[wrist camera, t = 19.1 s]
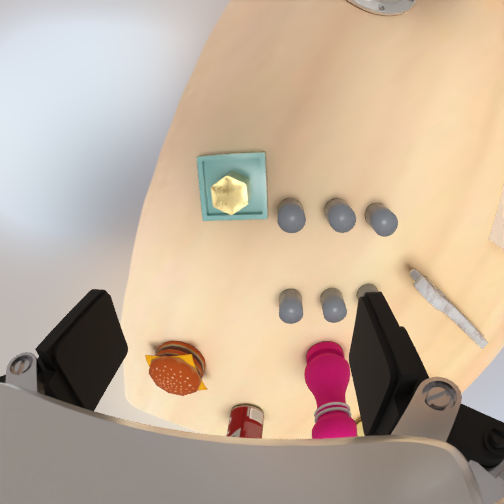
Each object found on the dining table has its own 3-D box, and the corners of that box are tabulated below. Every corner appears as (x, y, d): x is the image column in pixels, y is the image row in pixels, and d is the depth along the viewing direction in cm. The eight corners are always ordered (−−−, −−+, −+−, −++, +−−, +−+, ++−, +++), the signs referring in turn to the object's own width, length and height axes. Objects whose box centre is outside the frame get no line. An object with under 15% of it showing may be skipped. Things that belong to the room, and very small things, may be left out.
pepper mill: (294, 358, 47) (295, 462, 29) (323, 331, 44) (339, 440, 26) (325, 374, 48) (335, 472, 30) (354, 350, 45) (377, 451, 27)
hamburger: (195, 336, 47) (185, 363, 41) (213, 375, 51) (206, 402, 45) (148, 340, 49) (134, 365, 43) (168, 377, 52) (158, 402, 46)
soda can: (252, 399, 52) (246, 450, 41) (270, 416, 54) (266, 463, 43) (225, 407, 54) (215, 454, 43) (243, 423, 56) (236, 468, 45)
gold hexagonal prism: (216, 172, 36) (209, 177, 32) (248, 169, 35) (245, 173, 31) (220, 207, 37) (214, 216, 34) (252, 205, 37) (248, 214, 33)
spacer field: (277, 198, 37) (277, 206, 33) (388, 199, 35) (399, 207, 32) (279, 307, 43) (279, 323, 39) (375, 304, 42) (382, 320, 38)
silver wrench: (470, 333, 46) (396, 264, 38) (476, 327, 45) (404, 255, 37) (488, 359, 39) (421, 297, 31) (495, 352, 38) (431, 286, 30)
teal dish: (200, 155, 35) (196, 156, 34) (265, 151, 35) (264, 152, 33) (205, 217, 39) (202, 220, 37) (267, 215, 38) (267, 218, 36)
